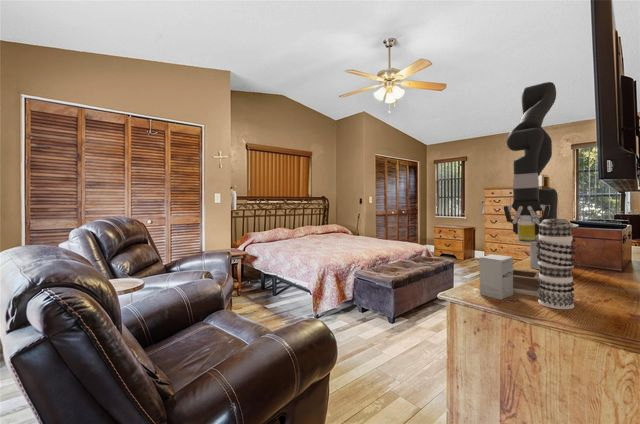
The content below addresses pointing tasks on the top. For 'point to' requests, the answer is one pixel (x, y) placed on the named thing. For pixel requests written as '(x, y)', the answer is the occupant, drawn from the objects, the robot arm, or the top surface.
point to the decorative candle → (555, 264)
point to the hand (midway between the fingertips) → (526, 234)
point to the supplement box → (496, 276)
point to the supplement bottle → (526, 229)
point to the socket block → (525, 282)
